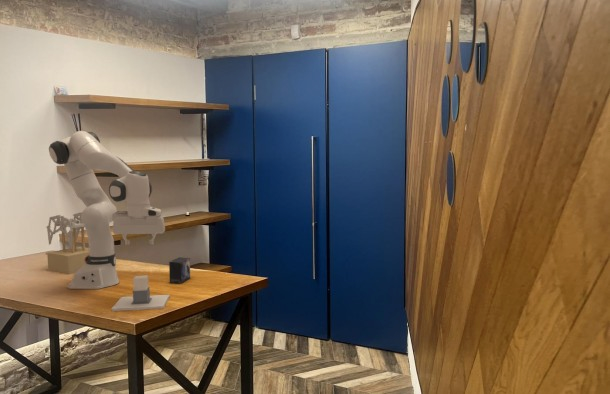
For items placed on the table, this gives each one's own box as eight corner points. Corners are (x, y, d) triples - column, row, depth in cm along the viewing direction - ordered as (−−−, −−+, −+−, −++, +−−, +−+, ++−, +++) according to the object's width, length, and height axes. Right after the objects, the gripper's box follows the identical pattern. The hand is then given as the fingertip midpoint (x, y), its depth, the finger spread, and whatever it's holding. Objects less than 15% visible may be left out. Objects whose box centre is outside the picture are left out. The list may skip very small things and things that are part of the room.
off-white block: (133, 291, 200) (133, 279, 199) (136, 287, 205) (135, 275, 204) (146, 290, 200) (145, 278, 200) (148, 287, 205) (148, 275, 205)
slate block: (133, 303, 200) (132, 291, 200) (136, 299, 205) (135, 287, 205) (147, 302, 201) (146, 290, 200) (149, 298, 206) (149, 286, 206)
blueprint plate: (111, 311, 194) (111, 308, 194) (121, 299, 210) (121, 296, 210) (163, 308, 196) (163, 305, 196) (169, 296, 212) (169, 294, 212)
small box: (181, 284, 233) (180, 262, 232) (169, 283, 235) (168, 261, 234) (191, 278, 244) (190, 257, 243) (179, 277, 245) (178, 257, 244)
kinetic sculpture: (104, 267, 269) (101, 213, 266) (70, 275, 252) (67, 217, 249) (77, 262, 282) (74, 210, 279) (43, 270, 265) (39, 214, 262)
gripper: (110, 212, 195) (111, 246, 197) (162, 211, 198) (163, 245, 199) (114, 210, 202) (115, 243, 203) (165, 210, 204) (165, 242, 205)
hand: (139, 244), depth 201 cm, fingers open, 8 cm apart
